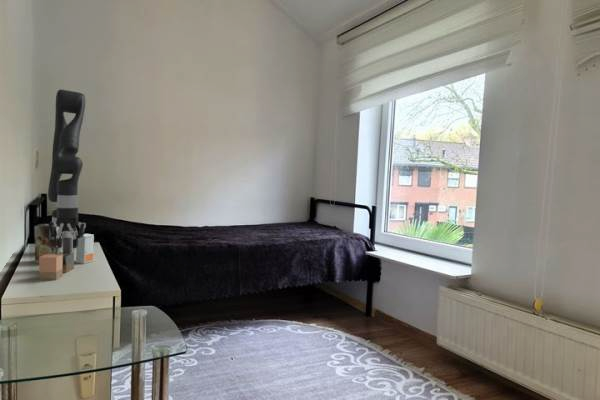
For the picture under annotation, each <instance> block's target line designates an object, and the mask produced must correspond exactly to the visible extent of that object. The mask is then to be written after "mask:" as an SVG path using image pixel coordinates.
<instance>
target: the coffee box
mask: <svg viewBox="0 0 600 400" xmlns="http://www.w3.org/2000/svg"><path fill="white" fill-rule="evenodd" d="M33 228H34V229H33V230H34V263H35V264H39V257H41V256H43V255H45V254H54V255H57V254H60V253H62V252H63V235H62V237H61V238H62V247H61V248H58V246H57V239H56V238H55V237H52V236H51V232H50V228H49V223H40V224H37V225H34V227H33ZM58 230H59V227H58V225H57V224H56V231H57V232H58Z"/></svg>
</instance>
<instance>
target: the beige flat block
mask: <svg viewBox="0 0 600 400" xmlns="http://www.w3.org/2000/svg"><path fill="white" fill-rule="evenodd" d="M71 253H73V251H72V238H63V253H62V254H60V255H63V263H64V262H65V256H67V255H69V254H71Z"/></svg>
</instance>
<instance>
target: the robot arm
mask: <svg viewBox="0 0 600 400" xmlns="http://www.w3.org/2000/svg"><path fill="white" fill-rule="evenodd" d="M85 108H86V96H85V94H84V93H81V92H77V91H72V90H67V89H58V90H57V92H56V95H55V113H54V114H55V118H54V120H55V121H54V124H55V125H54V134H53V143H52V156H51V159H52V160H51V170H50V177H49V183H48V191H47V197H48V200H49V201H50V202H51V203H56V209H54V210H52V212H51V221H50V222H49V223H48V224H49V228H50V232H51V236H52V237H55V238H56V239H57V246H58V248H61V247H62V238H61V237H62V235H63V238H72V251H73V253H74V254H75V253H76V248H77V246H78V239H79V238H81V237H83V235H84V234H85V231H86V227H87V223H86V222H80V221H79V197H78V184H79V178H80V175H81V173H82V170H83V160H82V159H81V158H80V157H79V156H77V154H78V152H79V147H80V135H81V129H82V126H83V121H84V117H85V110H86V109H85ZM64 113H67V114H74V117H73V119H72V120H70V122H69V123H68V124H67V121H66V118H65V114H64ZM62 175H72V176H71V177H70V178H67V179H61V177H62ZM60 179H61V180H60ZM56 224H57V225H58V227H59V230H58V232H57V231H56ZM77 227H78V228H79V230H77Z"/></svg>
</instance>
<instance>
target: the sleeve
mask: <svg viewBox="0 0 600 400" xmlns="http://www.w3.org/2000/svg"><path fill="white" fill-rule="evenodd" d="M62 253H63V252H62ZM62 253H60V254H62ZM60 254H57V255H60ZM74 269H75V253H71V254H69V255H67V256H65V262H64V263H63V264H62V274H67V273H69V272H70V271H72V270H74Z"/></svg>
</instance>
